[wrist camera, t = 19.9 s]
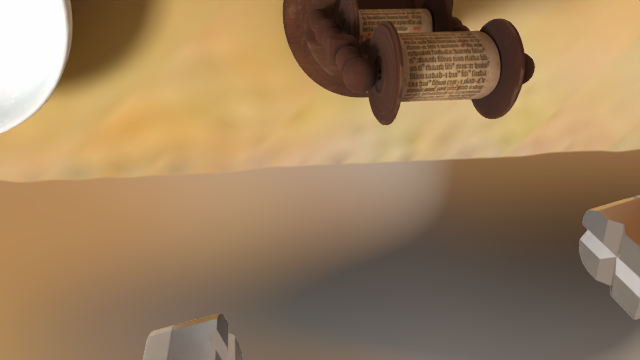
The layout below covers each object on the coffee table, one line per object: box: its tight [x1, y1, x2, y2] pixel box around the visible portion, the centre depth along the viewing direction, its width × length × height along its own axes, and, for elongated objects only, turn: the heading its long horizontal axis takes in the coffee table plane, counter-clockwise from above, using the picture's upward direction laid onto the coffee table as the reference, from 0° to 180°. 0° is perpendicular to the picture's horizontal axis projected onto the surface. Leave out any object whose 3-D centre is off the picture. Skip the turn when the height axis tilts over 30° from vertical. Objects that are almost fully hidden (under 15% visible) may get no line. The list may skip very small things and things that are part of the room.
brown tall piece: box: [283, 0, 535, 125], centre depth 31 cm, size 15×15×20 cm
